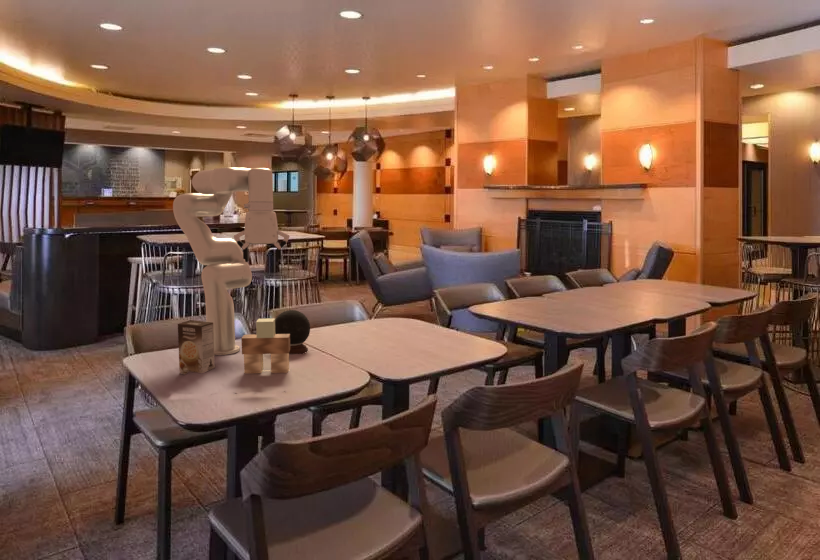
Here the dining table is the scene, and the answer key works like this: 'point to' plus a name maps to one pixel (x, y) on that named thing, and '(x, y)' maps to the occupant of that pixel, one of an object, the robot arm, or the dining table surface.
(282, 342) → the plank
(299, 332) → the black ball on stand
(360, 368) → the dining table surface
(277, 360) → the block
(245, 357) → the block
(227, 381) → the dining table surface
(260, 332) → the cube
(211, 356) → the coffee box
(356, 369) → the dining table surface
